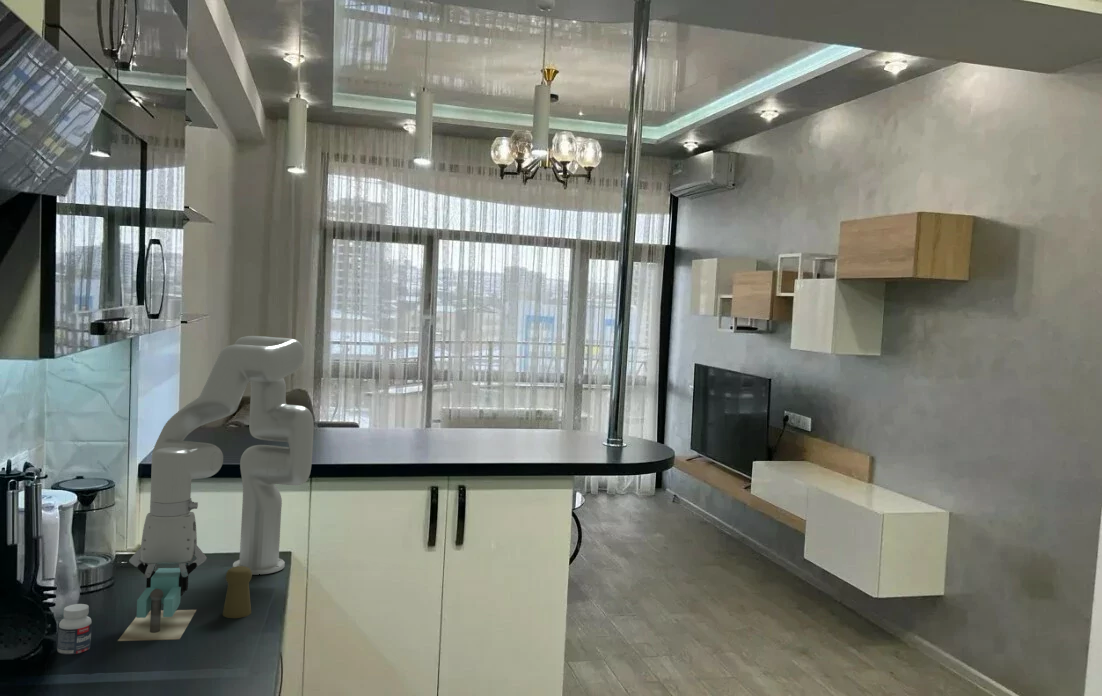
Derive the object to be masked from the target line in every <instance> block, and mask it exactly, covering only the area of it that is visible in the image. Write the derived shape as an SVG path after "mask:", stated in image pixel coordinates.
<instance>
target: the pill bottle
mask: <svg viewBox="0 0 1102 696" xmlns="http://www.w3.org/2000/svg"><path fill="white" fill-rule="evenodd" d="M89 609H90V607H89V605H88V604H84V603H75V604H70V605H67V606H65V607H64V608H63V619H61V620H60V622H59V623H58V634H57V648H56V649H57V653H58V654H60V655H77V654H81V653H83V652H86V651H88V650H90V648H91V642H92V624H93V623H92V618H91V617H90V616H89V612H90V611H89Z"/></svg>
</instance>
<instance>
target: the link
mask: <svg viewBox="0 0 1102 696" xmlns="http://www.w3.org/2000/svg"><path fill="white" fill-rule="evenodd" d="M180 576H181V571H180V567H162V568H161V567H160V568H159V567H158V568H157V570H156V571H155V573H154V575H153V576H152V577H151V588H146V587H145V589H144V591H143V592H142V593H141V595H140V596H139V597H138V598H137V599H136V616H137V618H146V616H147V615H148V613H149V612H150V611H151V598H150V593H151V592H152V591H153V590H154V589H161V590H162V591H163V598H162V600H161V605H163V617H172V616H173V614H174V613H175V611H176V610H178V608H179V606H180V605H181V598H182V596H181V587H179V578H180Z"/></svg>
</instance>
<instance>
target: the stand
mask: <svg viewBox="0 0 1102 696" xmlns="http://www.w3.org/2000/svg"><path fill="white" fill-rule="evenodd" d="M150 598H151V610H150V612H149V613H148V615H147V616H146V618H137V615H136V616H135V618H134V619H133V620H132V622H130V624H129V625H128V627H127V628H126V629H125V630H124V631H123V633H122V635H121V636H120V637H119V639H117V642H128V641H129V642H131V641H132V642H133V641H165V640H166V641H170V640H173V641H174V640H181V638H182V636H183V634H184V633H185V631H186V629H187V628H188V626H189V624H190V622H191V621H192V619H193V617H194V615H195V614H196V612H197V609H177V610H176V611H175V613H174V614H173V616H172V617H163V610H162V604H161V600H162V598H163V591H162V590H161V589H154V590H153V591H152V592H151V593H150Z"/></svg>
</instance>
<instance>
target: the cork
mask: <svg viewBox="0 0 1102 696" xmlns="http://www.w3.org/2000/svg"><path fill="white" fill-rule="evenodd" d="M252 577H253V575H252V571H251V570H250V568H248V567H245V566H237V567H233V566H232V567H231V568H228V570H227V571H226V574H225V581H226V582H227V589H226V594H225V599H224V600H225V601H224V603H223V610H222V616H223V617H225V618H228V619H240V618H245V617H248V616H250V615H251V614H252V605H251V603H252V602H251V594H250V593H251V592H250V581H252Z"/></svg>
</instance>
